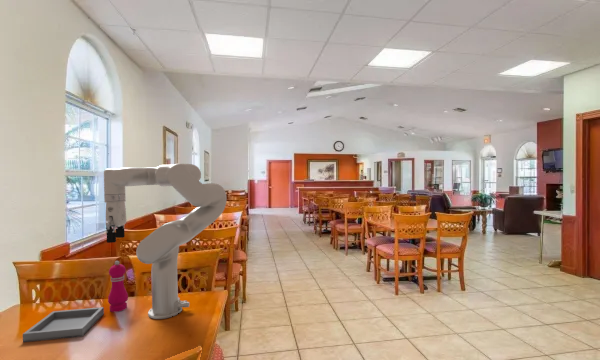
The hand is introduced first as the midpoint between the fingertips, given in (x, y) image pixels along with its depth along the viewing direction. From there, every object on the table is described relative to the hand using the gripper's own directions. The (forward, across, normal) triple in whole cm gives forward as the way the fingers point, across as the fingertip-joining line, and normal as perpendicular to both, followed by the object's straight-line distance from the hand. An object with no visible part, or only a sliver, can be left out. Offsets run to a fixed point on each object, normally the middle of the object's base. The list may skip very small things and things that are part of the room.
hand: (116, 239), depth 133 cm
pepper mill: (+29, 0, 0) cm, 29 cm away
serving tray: (+29, -13, +13) cm, 34 cm away
